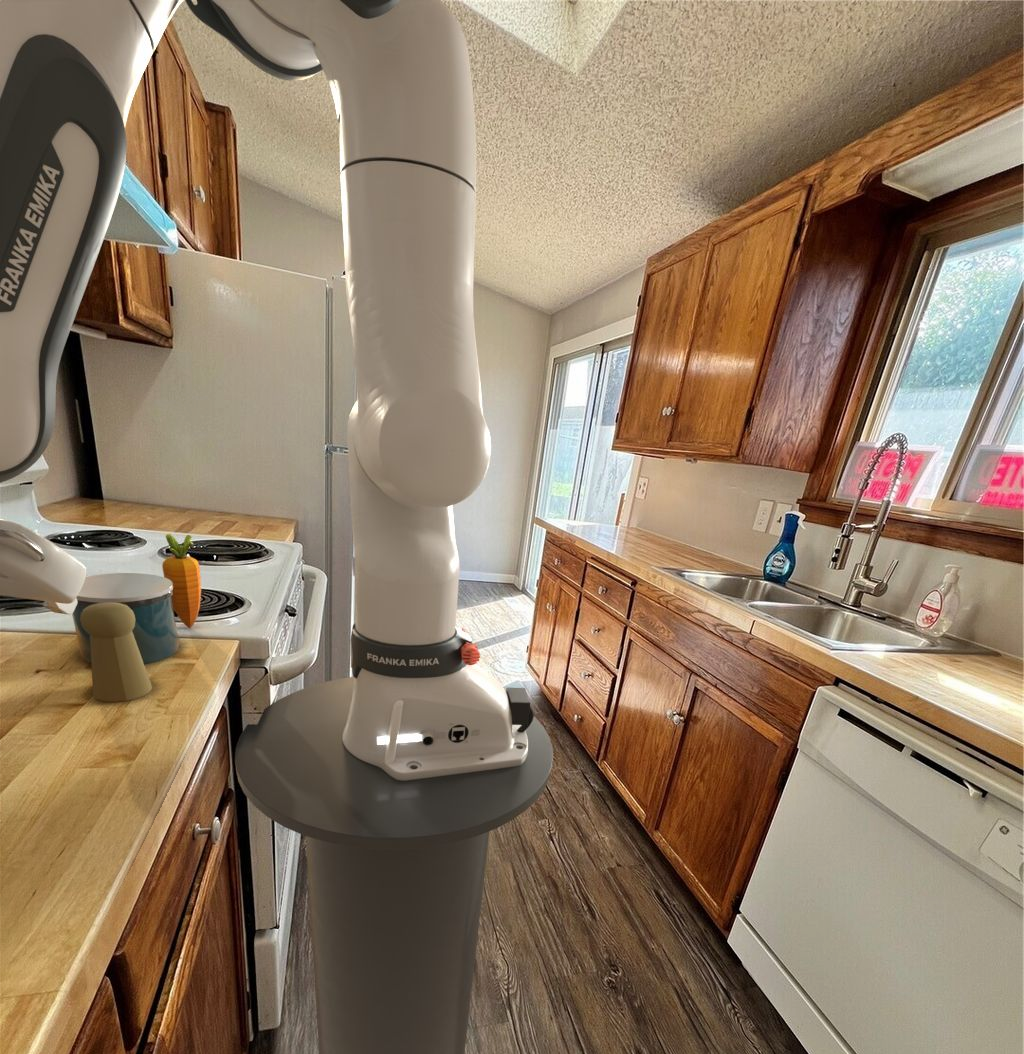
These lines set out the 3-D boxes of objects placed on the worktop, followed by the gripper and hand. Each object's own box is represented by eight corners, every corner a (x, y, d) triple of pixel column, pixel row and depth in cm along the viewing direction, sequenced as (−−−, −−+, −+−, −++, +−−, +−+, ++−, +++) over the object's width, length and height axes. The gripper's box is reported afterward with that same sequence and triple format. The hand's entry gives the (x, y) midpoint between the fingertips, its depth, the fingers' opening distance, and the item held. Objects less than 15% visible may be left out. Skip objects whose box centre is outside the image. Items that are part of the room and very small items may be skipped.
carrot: (203, 620, 92) (191, 529, 86) (210, 630, 89) (198, 535, 83) (168, 624, 89) (153, 530, 83) (175, 634, 86) (160, 536, 79)
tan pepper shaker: (100, 681, 70) (81, 597, 65) (156, 679, 72) (141, 597, 67) (86, 703, 65) (65, 613, 60) (146, 700, 67) (130, 613, 62)
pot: (194, 636, 86) (185, 575, 82) (163, 668, 75) (152, 600, 71) (103, 633, 83) (90, 570, 79) (58, 666, 72) (40, 595, 68)
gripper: (24, 490, 41) (137, 586, 54) (-240, 457, 42) (-65, 560, 55) (-16, 562, 39) (113, 644, 52) (-294, 527, 39) (-98, 617, 52)
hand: (20, 601), depth 53 cm, fingers open, 8 cm apart
